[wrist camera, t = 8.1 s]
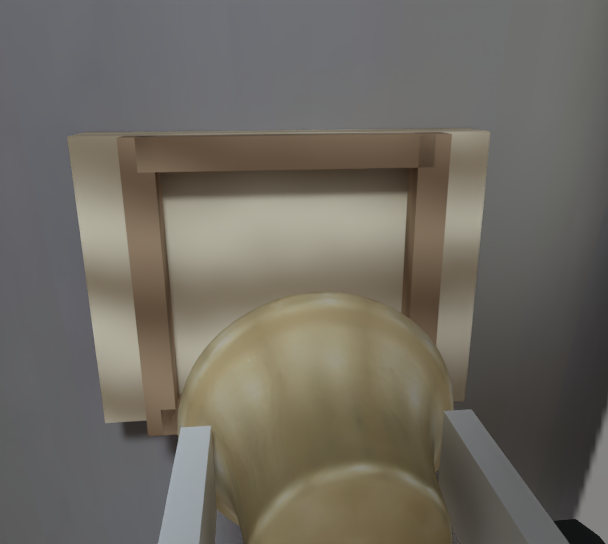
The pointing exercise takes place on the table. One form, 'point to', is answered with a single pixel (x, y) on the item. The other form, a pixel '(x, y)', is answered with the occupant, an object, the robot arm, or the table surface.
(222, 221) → the stand
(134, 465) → the table surface
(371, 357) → the hand bell
